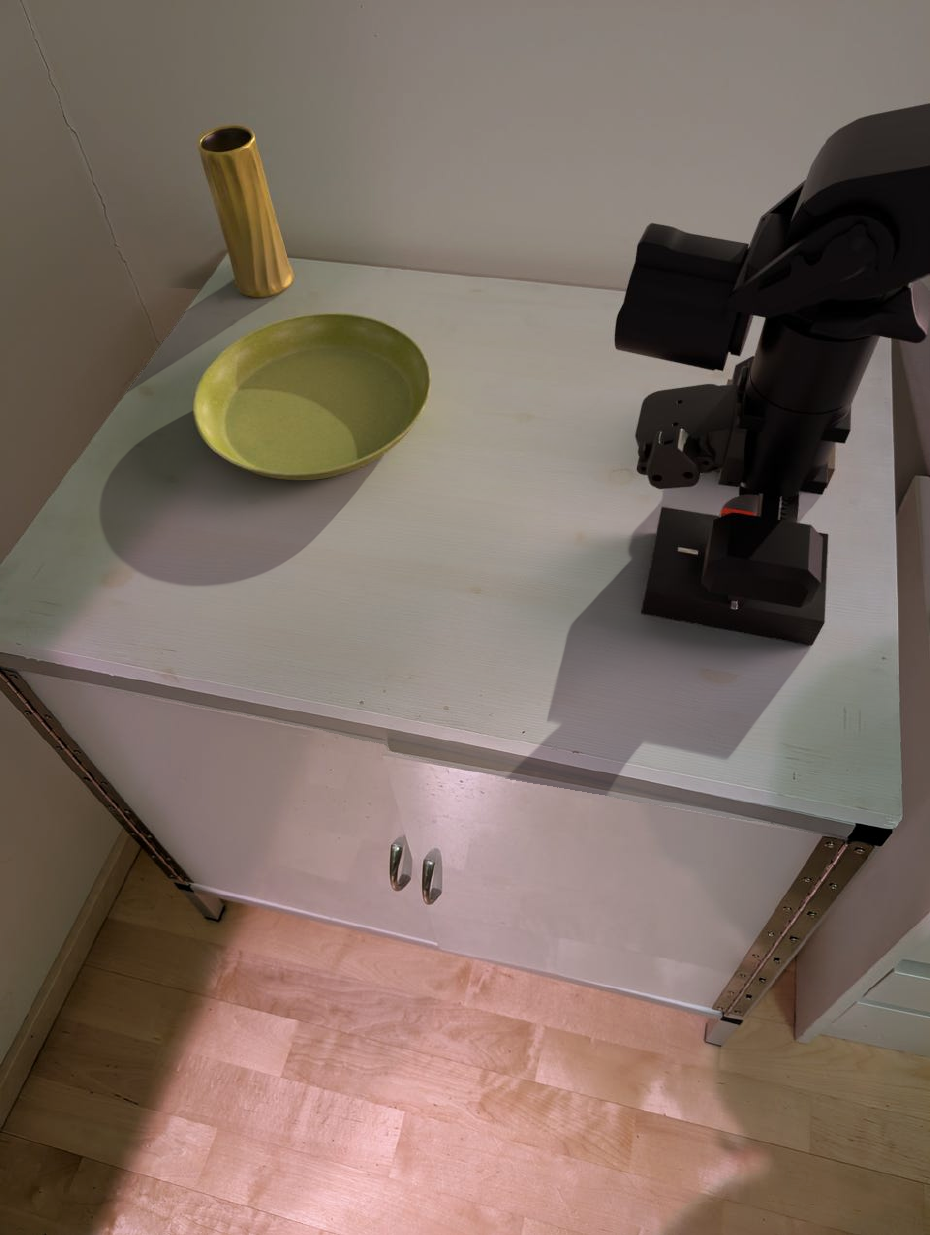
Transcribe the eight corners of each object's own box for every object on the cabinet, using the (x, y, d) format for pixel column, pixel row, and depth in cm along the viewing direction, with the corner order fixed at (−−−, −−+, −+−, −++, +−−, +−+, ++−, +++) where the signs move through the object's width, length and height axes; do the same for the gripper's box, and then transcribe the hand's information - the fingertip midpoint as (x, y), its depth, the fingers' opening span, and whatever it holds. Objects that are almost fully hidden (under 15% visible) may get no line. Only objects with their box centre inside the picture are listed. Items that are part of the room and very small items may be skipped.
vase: (224, 291, 86) (178, 149, 75) (256, 259, 89) (216, 117, 78) (274, 303, 85) (235, 160, 73) (305, 270, 88) (272, 127, 76)
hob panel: (816, 556, 63) (829, 529, 60) (812, 650, 58) (825, 624, 56) (656, 529, 65) (662, 501, 63) (639, 617, 61) (645, 591, 58)
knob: (773, 542, 60) (791, 496, 56) (768, 590, 58) (787, 546, 54) (710, 532, 61) (724, 486, 57) (704, 579, 59) (717, 534, 55)
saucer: (288, 320, 83) (281, 291, 80) (474, 375, 77) (472, 346, 74) (155, 455, 73) (142, 427, 70) (356, 532, 67) (349, 504, 64)
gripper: (677, 266, 53) (645, 447, 65) (630, 476, 43) (604, 642, 55) (863, 286, 51) (793, 470, 63) (860, 512, 40) (777, 676, 53)
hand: (740, 556), depth 59 cm, fingers open, 7 cm apart
